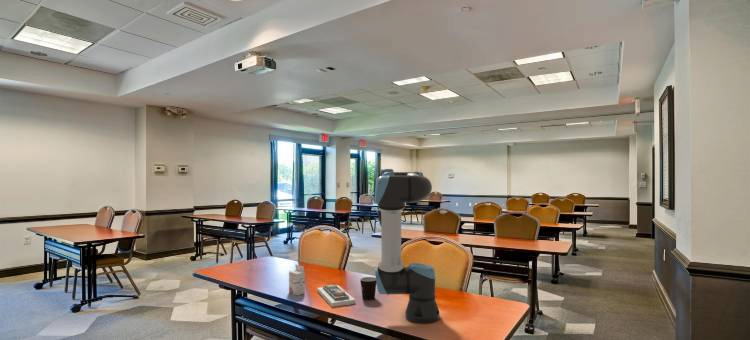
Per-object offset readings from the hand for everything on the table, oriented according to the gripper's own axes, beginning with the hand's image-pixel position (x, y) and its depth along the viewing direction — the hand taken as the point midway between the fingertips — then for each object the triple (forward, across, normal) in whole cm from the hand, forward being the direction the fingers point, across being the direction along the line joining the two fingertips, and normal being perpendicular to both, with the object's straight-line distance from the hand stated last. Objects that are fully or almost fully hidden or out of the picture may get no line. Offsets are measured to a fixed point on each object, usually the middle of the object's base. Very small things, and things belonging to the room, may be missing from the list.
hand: (387, 240), depth 208 cm
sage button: (+26, +29, -13) cm, 41 cm away
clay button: (+25, +29, +3) cm, 38 cm away
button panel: (+28, +29, -5) cm, 41 cm away
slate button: (+26, +29, -5) cm, 39 cm away
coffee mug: (+29, +13, +4) cm, 32 cm away
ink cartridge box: (+29, +45, -21) cm, 58 cm away
